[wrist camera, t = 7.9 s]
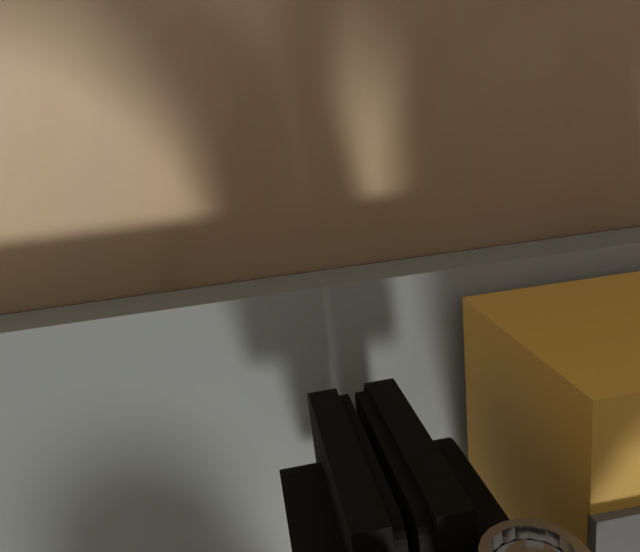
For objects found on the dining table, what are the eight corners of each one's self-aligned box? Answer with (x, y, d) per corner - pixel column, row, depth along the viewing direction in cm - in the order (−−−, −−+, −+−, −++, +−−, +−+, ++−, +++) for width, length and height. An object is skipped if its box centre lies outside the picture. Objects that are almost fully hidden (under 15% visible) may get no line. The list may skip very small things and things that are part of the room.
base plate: (781, 206, 14) (854, 219, 12) (756, 436, 16) (817, 473, 14) (-318, 359, 11) (-408, 400, 10) (-209, 615, 13) (-270, 687, 11)
